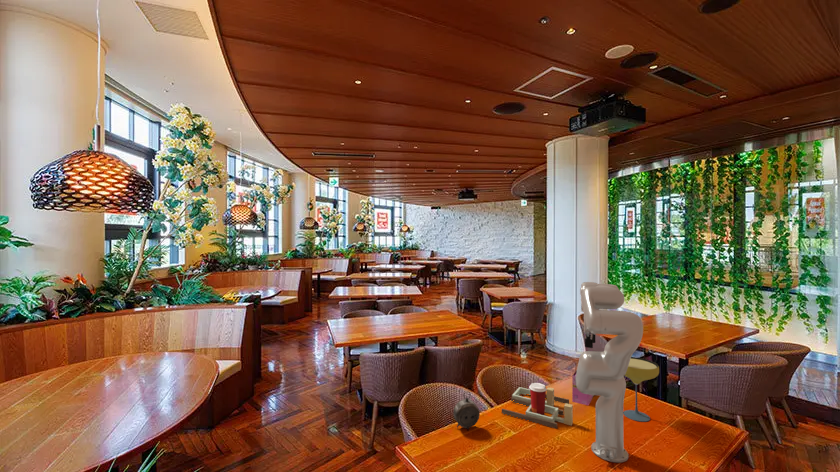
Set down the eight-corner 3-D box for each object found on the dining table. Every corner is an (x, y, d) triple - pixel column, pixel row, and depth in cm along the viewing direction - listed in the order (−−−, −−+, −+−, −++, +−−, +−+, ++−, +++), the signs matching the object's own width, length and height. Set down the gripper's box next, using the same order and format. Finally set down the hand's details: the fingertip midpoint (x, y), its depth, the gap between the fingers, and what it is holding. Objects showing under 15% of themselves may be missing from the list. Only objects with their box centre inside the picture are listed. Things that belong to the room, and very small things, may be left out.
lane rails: (556, 428, 154) (556, 424, 154) (501, 413, 168) (501, 409, 168) (569, 403, 178) (569, 399, 179) (520, 392, 192) (520, 388, 192)
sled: (569, 430, 153) (569, 411, 153) (525, 418, 163) (525, 400, 163) (574, 418, 163) (574, 401, 163) (532, 407, 173) (532, 391, 173)
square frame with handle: (550, 410, 170) (550, 393, 171) (512, 400, 181) (512, 385, 181) (556, 401, 180) (556, 385, 181) (519, 392, 191) (519, 377, 191)
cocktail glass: (666, 428, 154) (665, 371, 155) (620, 422, 160) (619, 367, 160) (651, 409, 172) (651, 358, 172) (610, 405, 177) (610, 354, 177)
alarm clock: (476, 424, 158) (476, 387, 158) (481, 430, 153) (480, 392, 153) (453, 427, 155) (453, 390, 156) (456, 433, 150) (456, 395, 150)
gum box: (581, 386, 200) (581, 362, 200) (597, 389, 195) (596, 365, 196) (571, 401, 181) (571, 375, 181) (588, 406, 176) (588, 378, 176)
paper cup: (548, 414, 167) (547, 384, 168) (544, 421, 161) (544, 390, 161) (531, 410, 171) (531, 381, 172) (527, 416, 165) (527, 386, 165)
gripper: (596, 312, 157) (596, 351, 157) (601, 306, 172) (601, 341, 171) (578, 310, 161) (578, 348, 161) (584, 305, 176) (584, 339, 175)
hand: (590, 344), depth 166 cm, fingers open, 9 cm apart
